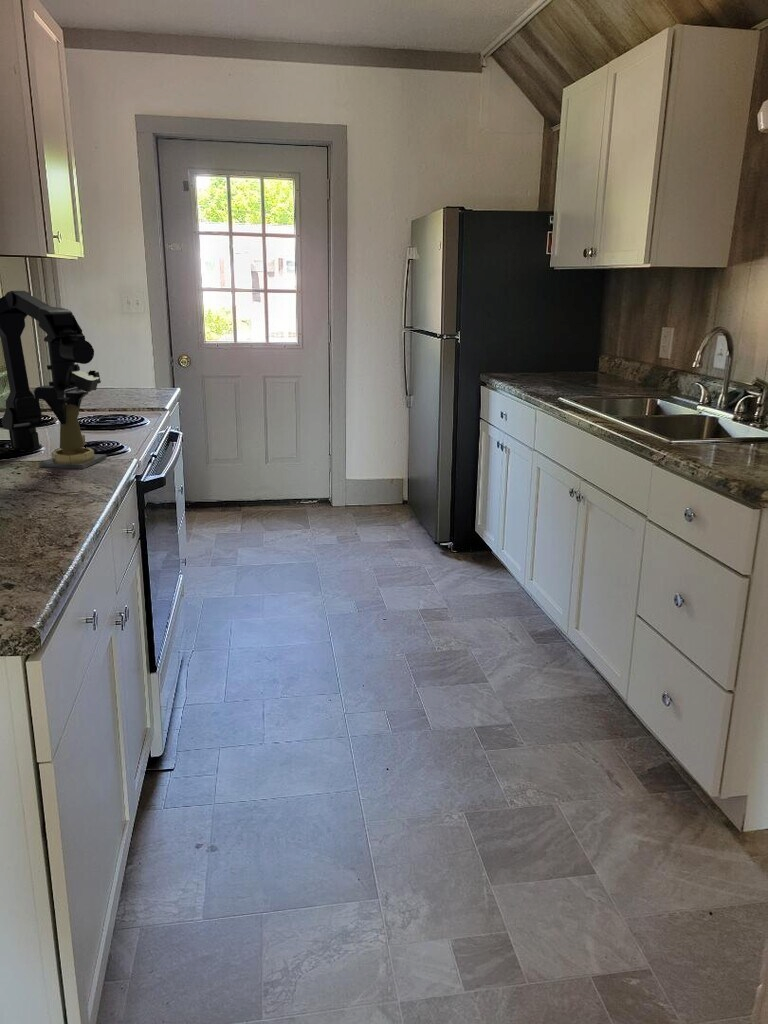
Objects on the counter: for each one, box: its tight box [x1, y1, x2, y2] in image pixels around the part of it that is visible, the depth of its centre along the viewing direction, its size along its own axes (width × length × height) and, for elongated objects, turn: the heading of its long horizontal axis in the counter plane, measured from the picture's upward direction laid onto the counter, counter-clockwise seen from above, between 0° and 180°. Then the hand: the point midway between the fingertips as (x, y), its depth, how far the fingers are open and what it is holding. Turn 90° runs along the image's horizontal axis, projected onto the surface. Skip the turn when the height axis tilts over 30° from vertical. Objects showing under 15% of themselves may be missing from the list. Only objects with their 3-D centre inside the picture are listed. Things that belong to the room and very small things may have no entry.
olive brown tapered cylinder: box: [59, 404, 84, 449], centre depth 197 cm, size 6×6×11 cm
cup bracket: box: [38, 447, 108, 470], centre depth 199 cm, size 12×12×3 cm
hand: (69, 422), depth 197 cm, fingers closed on olive brown tapered cylinder, 5 cm apart
